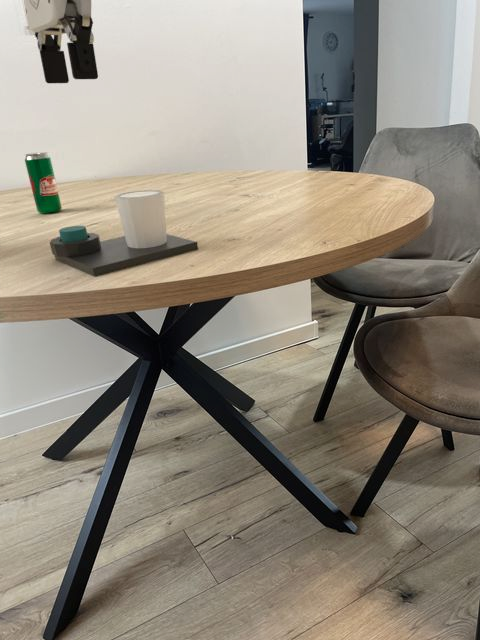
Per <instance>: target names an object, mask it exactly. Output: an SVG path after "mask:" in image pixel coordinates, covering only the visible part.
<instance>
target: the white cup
mask: <svg viewBox="0 0 480 640" xmlns="http://www.w3.org/2000/svg"><path fill="white" fill-rule="evenodd" d="M165 199H166V198H165V192H164V191H162V190H156V189H155V190H154V189H153V190H152V189H147V190H145V189H144V190H134V191H129V192H123V193H119V194H116V195H115V196H114V200H115V201H114V202H115V205H116V208H117V212H118V216H119V219H120V224H121V226H122V231H123V234H124V236H125V238H126V242H127V245H128V247H131V248H150V247H156V246H160V245H162V244H165V243H166V242H167V239H166V234H167V222H166V220H167V219H166V202H165Z"/></svg>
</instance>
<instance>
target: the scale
mask: <svg viewBox="0 0 480 640" xmlns="http://www.w3.org/2000/svg"><path fill="white" fill-rule="evenodd" d="M87 235H88V239H85V240H80V241H74V242H62V241H61V237H60V236H56V237H55V238H52V239H51V240H50V241H49V246H50V250H51V254H52V255H53V256H54V259H55V261H57V262H60V263H62V264H64V265H67V266H69V267H72V268H74V269H75V270H78V271H80V272H83V273H85V274H87V275H90V276H91V277H94V278H95V277H99V276H103V275H106V274H110V273H114V272H119V271H122V270H127V269H129V268H133V267H137V266H141V265H145V264H148V263H152V262H157V261H160V260H164V259H169V258H172V257H175V256H178V255H183V254H187V253H190V252H193V251H197V250H199V245H198V241H196V240H192V239H188V238H183V237H180V236H175V235H172V234H168V233H166V239H167V242H166V243H165V244H162V245H160V246H156V247H150V248H131V247H128V245H127V242H126V238H125V235H123V236H119V237H115V238H109V239H105V240H101V239H100V235H99V234H98V233H94V232H87Z"/></svg>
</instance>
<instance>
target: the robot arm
mask: <svg viewBox="0 0 480 640" xmlns="http://www.w3.org/2000/svg"><path fill="white" fill-rule="evenodd" d="M23 4H24V8H25V9H24V10H25V16H26V21H27V26H28V28H29V30H30V31H31V32H33V33H34V37H35V38H36V40H37V48H38V51H39V56H40V60H41V61H40V62H41V64H42V65H41V66H42V70H43V71H42V72H43V75H44V80H45V82H46V84H68V83H69V82H70V78H69V73H68V67H67V61H66V56H65V55H66V54H65V50H61V49H62V36H63V35H64V34H66V36H67V38H68V40H69V42H66V46H67V50H68V57H69V63H70V68H71V69H70V70H71V75H72V78H73V79H74V80H97V79H98V78H99V74H98V67H97V60H96V54H95V53H96V52H95V48H94V42H95V38H94V32H93V31H92V30H93V24H94V21H93V18H92V0H23Z"/></svg>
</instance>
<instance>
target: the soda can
mask: <svg viewBox="0 0 480 640" xmlns="http://www.w3.org/2000/svg"><path fill="white" fill-rule="evenodd" d="M24 155H25V157H24V164H25V168H26V171H27V175H28V180H29V183H30V187H31V191H32V196H33V199H34V204H35V207H36V211H37V212H38V213H39V214H41V215H50V214H56V213H60V212H61V210H62V208H63V206H62V202H61V198H60V194H59V189H58V185H57V180H56V175H55V171H54V167H53V162H52V158H51V156H49V154H48V152H46V151H41V152H39V151H38V152H28V153H25V154H24Z"/></svg>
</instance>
